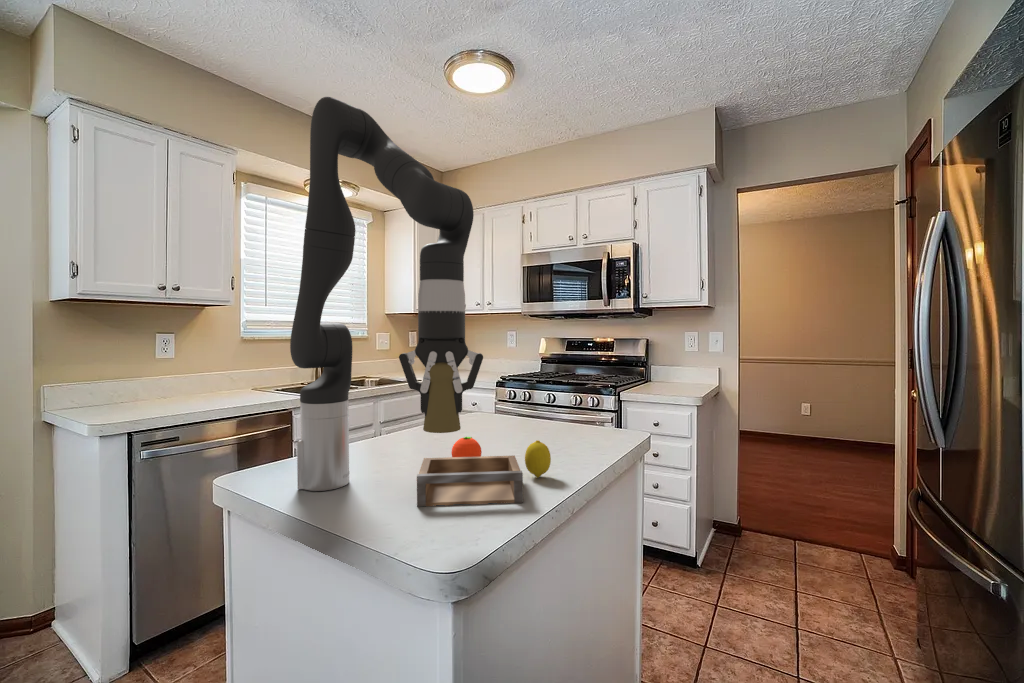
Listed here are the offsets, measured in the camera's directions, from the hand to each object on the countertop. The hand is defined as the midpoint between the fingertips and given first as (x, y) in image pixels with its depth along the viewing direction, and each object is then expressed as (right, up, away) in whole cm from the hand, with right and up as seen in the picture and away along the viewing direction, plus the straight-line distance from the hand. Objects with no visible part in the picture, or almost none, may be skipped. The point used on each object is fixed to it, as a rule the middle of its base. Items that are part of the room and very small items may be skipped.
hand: (441, 415), depth 78 cm
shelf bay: (+3, -17, +16) cm, 24 cm away
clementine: (+1, -17, +33) cm, 38 cm away
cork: (0, -3, 0) cm, 3 cm away
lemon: (+17, -17, +25) cm, 35 cm away
